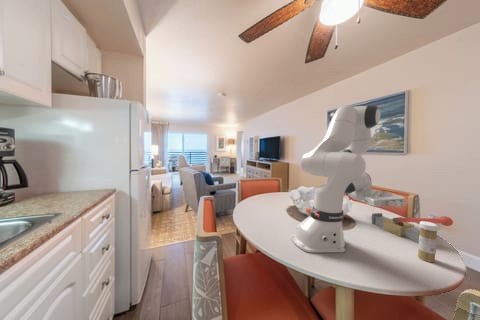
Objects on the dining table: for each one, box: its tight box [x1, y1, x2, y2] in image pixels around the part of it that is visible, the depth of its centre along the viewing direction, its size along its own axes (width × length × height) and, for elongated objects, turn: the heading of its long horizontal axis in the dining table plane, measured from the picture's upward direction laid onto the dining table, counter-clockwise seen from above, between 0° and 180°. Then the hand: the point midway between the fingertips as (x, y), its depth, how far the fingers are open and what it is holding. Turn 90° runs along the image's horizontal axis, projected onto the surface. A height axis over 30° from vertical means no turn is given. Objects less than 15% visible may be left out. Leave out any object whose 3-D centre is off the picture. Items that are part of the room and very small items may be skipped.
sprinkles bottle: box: [417, 221, 439, 263], centre depth 65 cm, size 5×5×14 cm
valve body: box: [371, 212, 420, 245], centre depth 86 cm, size 8×22×5 cm, turn 13°
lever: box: [392, 215, 454, 227], centre depth 77 cm, size 4×4×21 cm
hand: (402, 205), depth 85 cm, fingers closed
